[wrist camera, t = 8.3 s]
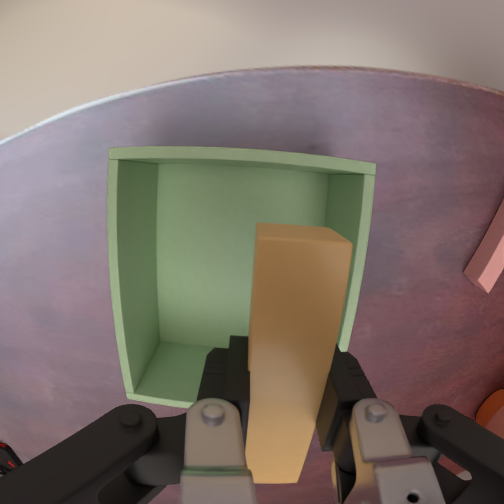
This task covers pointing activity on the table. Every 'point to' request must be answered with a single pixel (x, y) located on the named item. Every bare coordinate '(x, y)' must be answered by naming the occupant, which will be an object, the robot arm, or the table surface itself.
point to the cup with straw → (492, 413)
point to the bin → (212, 249)
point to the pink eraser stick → (488, 255)
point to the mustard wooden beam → (291, 341)
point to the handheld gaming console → (8, 460)
